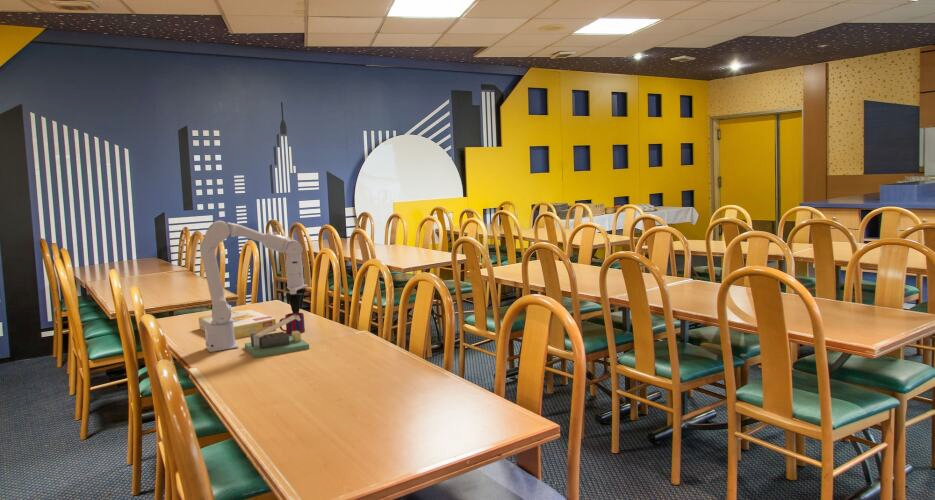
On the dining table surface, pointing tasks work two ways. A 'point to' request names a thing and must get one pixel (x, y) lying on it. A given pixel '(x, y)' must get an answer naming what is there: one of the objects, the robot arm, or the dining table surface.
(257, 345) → the dark and beige blocks
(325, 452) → the dining table surface
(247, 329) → the cereal box
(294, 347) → the circuit board
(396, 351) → the dining table surface
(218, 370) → the dining table surface
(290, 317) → the beige long bar
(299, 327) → the mug
